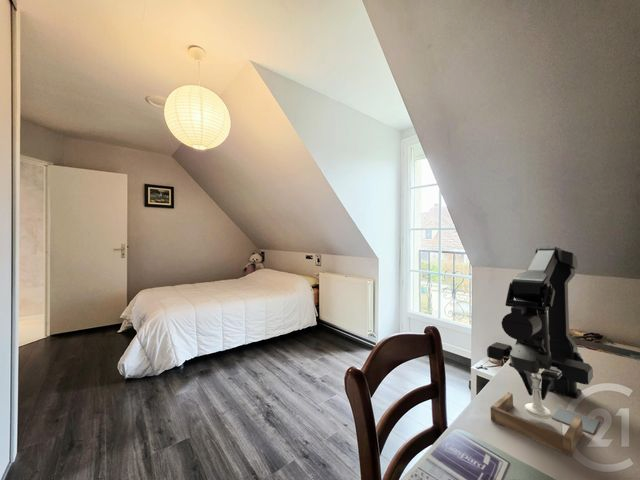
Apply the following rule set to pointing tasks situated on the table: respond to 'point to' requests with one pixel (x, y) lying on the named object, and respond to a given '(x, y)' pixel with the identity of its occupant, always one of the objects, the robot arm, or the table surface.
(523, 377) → the robot arm
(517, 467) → the table surface
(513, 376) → the table surface
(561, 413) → the pad
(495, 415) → the wooden frame
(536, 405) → the chess piece
